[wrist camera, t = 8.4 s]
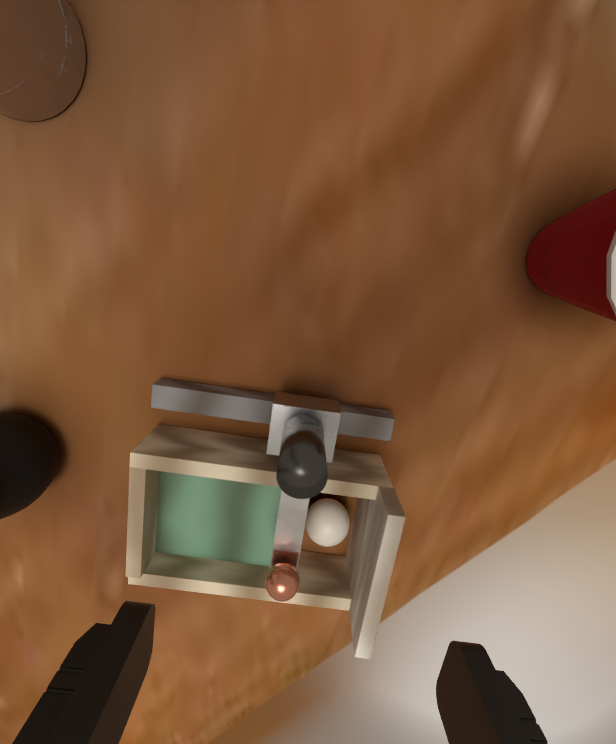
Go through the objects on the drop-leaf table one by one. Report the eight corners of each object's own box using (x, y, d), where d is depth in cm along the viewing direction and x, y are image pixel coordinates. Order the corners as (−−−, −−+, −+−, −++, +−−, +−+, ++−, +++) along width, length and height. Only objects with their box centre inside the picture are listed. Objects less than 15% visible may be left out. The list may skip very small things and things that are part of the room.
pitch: (152, 542, 36) (102, 627, 27) (161, 377, 32) (106, 415, 23) (355, 567, 36) (370, 658, 28) (389, 410, 32) (420, 459, 24)
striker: (257, 529, 33) (239, 621, 24) (276, 391, 29) (263, 439, 21) (313, 536, 33) (315, 630, 24) (337, 400, 30) (350, 451, 21)
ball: (343, 529, 35) (301, 523, 35) (350, 492, 34) (308, 487, 34) (347, 559, 31) (301, 554, 31) (356, 519, 30) (308, 513, 30)
